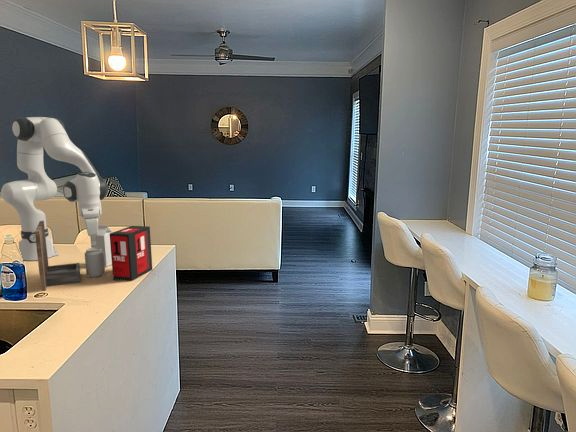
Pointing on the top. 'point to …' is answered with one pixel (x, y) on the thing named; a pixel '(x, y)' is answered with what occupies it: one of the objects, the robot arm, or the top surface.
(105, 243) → the milk carton
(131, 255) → the cleaning product box
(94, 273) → the can
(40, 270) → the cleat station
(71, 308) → the top surface
